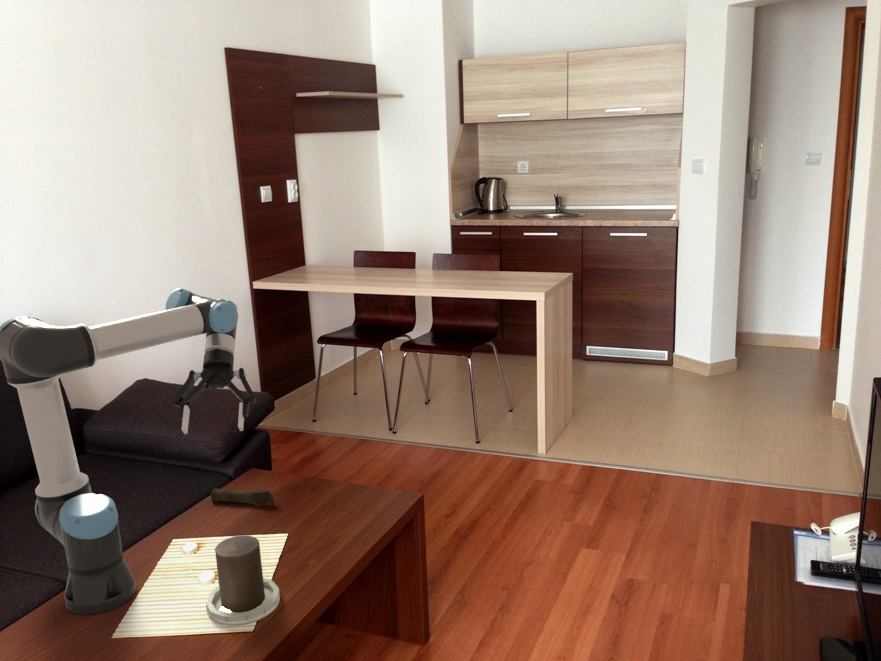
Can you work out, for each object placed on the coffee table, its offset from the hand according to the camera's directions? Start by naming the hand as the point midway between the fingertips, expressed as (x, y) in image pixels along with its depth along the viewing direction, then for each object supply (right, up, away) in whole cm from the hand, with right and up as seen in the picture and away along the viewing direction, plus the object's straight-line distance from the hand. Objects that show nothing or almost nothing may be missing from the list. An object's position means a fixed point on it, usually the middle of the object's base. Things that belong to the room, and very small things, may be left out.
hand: (212, 430), depth 192 cm
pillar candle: (+11, -37, -16) cm, 41 cm away
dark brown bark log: (-1, -26, +34) cm, 43 cm away
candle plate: (+12, -37, -16) cm, 42 cm away
